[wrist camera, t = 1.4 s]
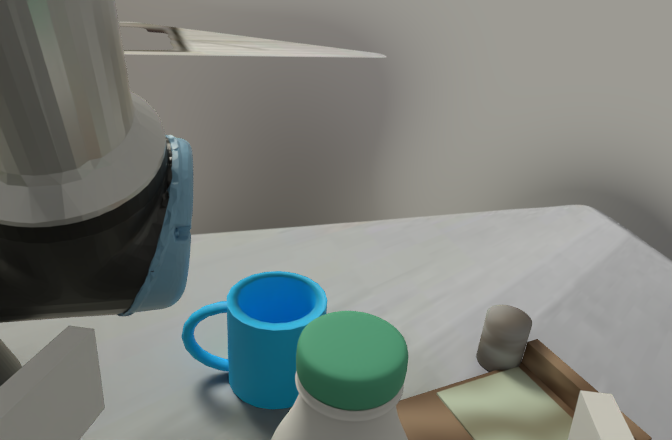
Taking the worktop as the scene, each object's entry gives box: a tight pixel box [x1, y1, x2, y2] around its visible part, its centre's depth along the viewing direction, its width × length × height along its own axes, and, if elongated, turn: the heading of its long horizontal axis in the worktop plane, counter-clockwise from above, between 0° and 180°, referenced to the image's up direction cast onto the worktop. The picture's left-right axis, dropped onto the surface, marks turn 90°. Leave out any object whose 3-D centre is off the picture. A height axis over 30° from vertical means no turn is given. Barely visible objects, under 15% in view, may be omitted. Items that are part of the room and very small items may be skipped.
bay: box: [396, 305, 652, 440], centre depth 43 cm, size 16×21×5 cm
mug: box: [182, 271, 327, 409], centre depth 46 cm, size 12×8×8 cm
